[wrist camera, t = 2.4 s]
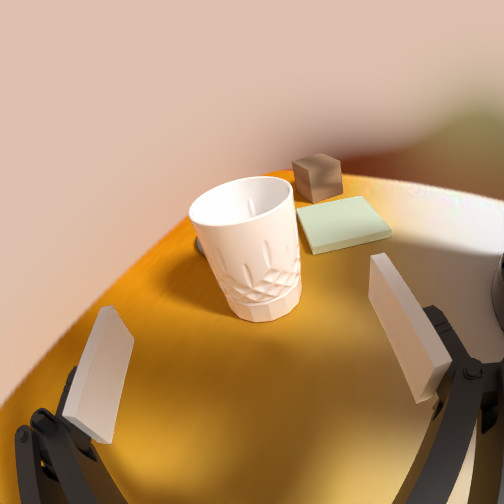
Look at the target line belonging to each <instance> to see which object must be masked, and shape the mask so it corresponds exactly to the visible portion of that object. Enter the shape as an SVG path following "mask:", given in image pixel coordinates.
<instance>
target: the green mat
mask: <svg viewBox="0 0 504 504" xmlns="http://www.w3.org/2000/svg"><path fill="white" fill-rule="evenodd" d="M296 212H297V217H298V219H299V221H300V224H301V226H302V229H303V231H304V234H305V236H306V238H307V241H308V243H309V246H310V248H311V251H312V253H313V255H316V254H320V253H325V252H329V251H334V250H338V249H342V248H347V247H351V246H355V245H360V244H364V243H368V242H373V241H377V240H381V239H386V238H390V237H391V228H390V227H389V226H388V225H387V224H386V222H385V221H384V220H383V219H382V218H381V217H380V215H379V214H378V213H377V212H376V211H375V210H374V209H373V207H372V206H371V205H370V204H369V203H368V202H367V201H366V200H365V199H364V197H363V196H362V195H361V196H356V197H351V198H346V199H341V200H336V201H331V202H326V203H321V204H316V205H311V206H307V207H302V208H297V209H296Z"/></svg>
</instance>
